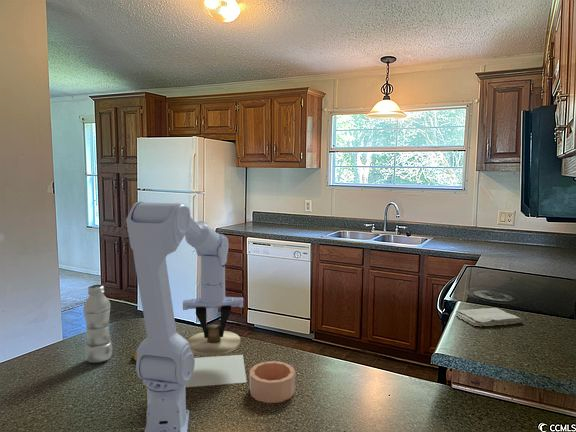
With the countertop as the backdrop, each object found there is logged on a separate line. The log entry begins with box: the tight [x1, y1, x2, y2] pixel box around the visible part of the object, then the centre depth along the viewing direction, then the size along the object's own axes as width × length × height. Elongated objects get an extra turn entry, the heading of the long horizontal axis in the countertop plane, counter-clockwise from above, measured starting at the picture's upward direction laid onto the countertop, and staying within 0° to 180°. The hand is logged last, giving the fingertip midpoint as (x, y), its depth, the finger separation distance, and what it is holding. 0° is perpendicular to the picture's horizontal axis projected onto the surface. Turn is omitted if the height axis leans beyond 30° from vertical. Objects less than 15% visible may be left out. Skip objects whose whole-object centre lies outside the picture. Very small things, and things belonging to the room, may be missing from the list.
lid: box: [187, 324, 241, 356], centre depth 104 cm, size 13×13×4 cm
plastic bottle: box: [83, 283, 113, 364], centre depth 110 cm, size 6×7×20 cm
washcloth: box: [455, 307, 523, 323], centre depth 143 cm, size 12×18×3 cm, turn 104°
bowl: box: [249, 360, 296, 404], centre depth 95 cm, size 10×10×5 cm
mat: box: [185, 354, 247, 388], centre depth 105 cm, size 15×15×1 cm
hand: (213, 336), depth 104 cm, fingers closed on lid, 3 cm apart
